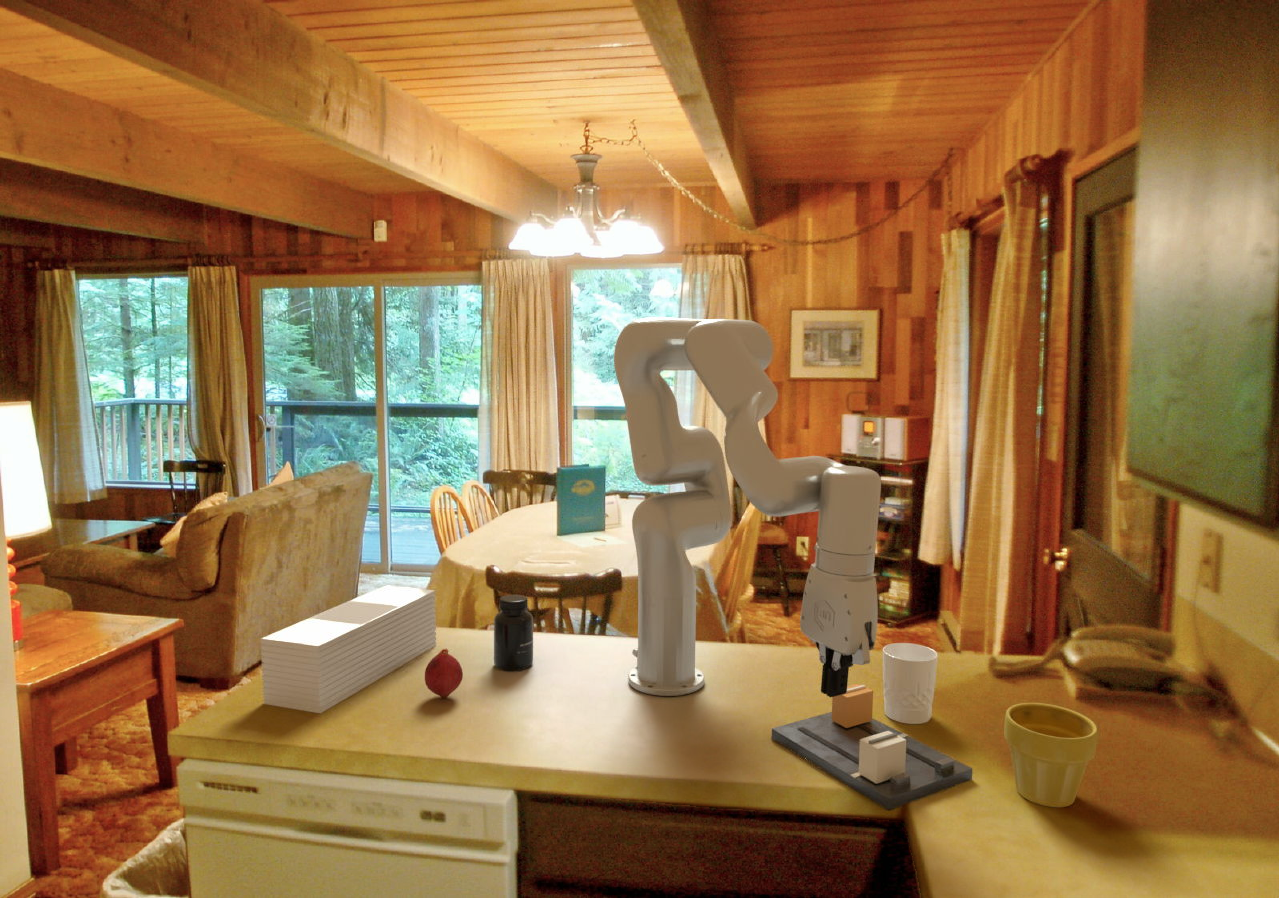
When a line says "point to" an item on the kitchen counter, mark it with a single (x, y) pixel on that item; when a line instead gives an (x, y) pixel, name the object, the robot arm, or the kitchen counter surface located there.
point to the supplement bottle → (513, 634)
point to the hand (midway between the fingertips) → (833, 692)
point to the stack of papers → (346, 647)
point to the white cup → (909, 682)
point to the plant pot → (1049, 751)
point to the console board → (841, 759)
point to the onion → (443, 674)
